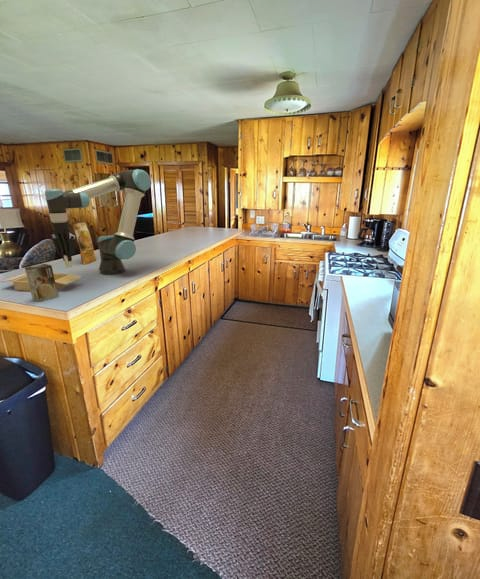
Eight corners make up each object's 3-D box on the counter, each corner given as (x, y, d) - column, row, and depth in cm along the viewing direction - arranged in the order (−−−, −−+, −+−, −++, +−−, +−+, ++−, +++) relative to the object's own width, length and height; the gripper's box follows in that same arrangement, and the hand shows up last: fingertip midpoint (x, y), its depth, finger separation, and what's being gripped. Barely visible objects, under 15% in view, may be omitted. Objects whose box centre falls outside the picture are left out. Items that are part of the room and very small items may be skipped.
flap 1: (32, 272, 165) (21, 274, 166) (12, 279, 152) (0, 281, 153) (32, 273, 165) (21, 275, 166) (12, 280, 153) (1, 282, 154)
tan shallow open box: (71, 282, 167) (70, 273, 165) (51, 292, 151) (49, 282, 149) (37, 281, 168) (35, 272, 167) (14, 290, 153) (11, 281, 151)
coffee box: (51, 294, 149) (45, 263, 144) (58, 296, 146) (52, 265, 140) (32, 299, 141) (24, 267, 136) (38, 302, 138) (31, 269, 133)
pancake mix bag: (75, 265, 204) (68, 224, 195) (90, 258, 222) (84, 221, 213) (85, 265, 204) (78, 224, 195) (99, 259, 222) (93, 221, 213)
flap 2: (52, 281, 151) (65, 284, 150) (69, 274, 163) (81, 276, 163) (52, 282, 151) (65, 284, 150) (69, 274, 163) (81, 277, 163)
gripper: (76, 220, 150) (85, 265, 158) (52, 220, 151) (62, 264, 159) (67, 222, 143) (76, 269, 151) (42, 222, 144) (52, 268, 152)
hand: (69, 266), depth 155 cm, fingers closed
